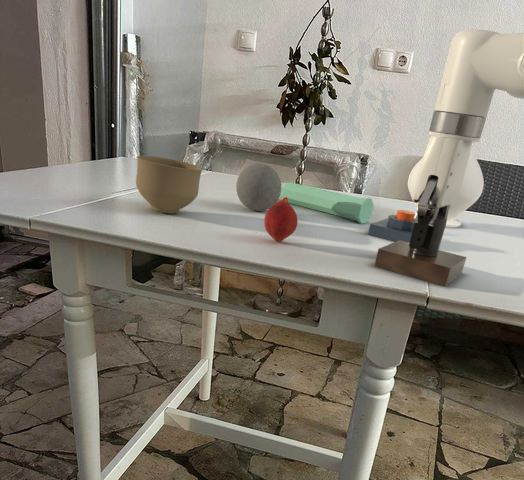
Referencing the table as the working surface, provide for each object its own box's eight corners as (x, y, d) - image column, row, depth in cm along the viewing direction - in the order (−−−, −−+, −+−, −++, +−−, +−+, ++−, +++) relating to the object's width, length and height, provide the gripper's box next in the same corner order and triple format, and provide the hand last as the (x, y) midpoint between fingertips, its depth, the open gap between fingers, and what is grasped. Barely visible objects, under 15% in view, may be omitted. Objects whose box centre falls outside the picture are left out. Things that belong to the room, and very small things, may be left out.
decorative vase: (393, 219, 124) (419, 107, 113) (406, 209, 139) (430, 109, 128) (468, 234, 118) (503, 117, 107) (473, 222, 133) (505, 119, 122)
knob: (414, 247, 87) (423, 210, 84) (440, 253, 85) (451, 216, 82) (405, 251, 83) (415, 213, 81) (432, 258, 81) (443, 219, 79)
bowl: (208, 219, 100) (212, 167, 96) (144, 218, 95) (145, 162, 90) (188, 205, 110) (191, 157, 106) (129, 203, 105) (129, 152, 100)
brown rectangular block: (461, 274, 87) (466, 257, 85) (445, 286, 79) (450, 268, 78) (395, 256, 92) (399, 240, 91) (374, 266, 84) (378, 248, 83)
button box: (432, 240, 108) (437, 221, 106) (418, 247, 101) (423, 227, 99) (383, 228, 113) (388, 210, 111) (367, 234, 106) (371, 215, 104)
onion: (280, 248, 88) (286, 201, 84) (255, 239, 91) (260, 194, 87) (300, 244, 92) (307, 199, 88) (275, 236, 95) (281, 192, 91)
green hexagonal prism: (280, 175, 126) (366, 193, 112) (292, 183, 131) (376, 202, 116) (271, 198, 127) (356, 219, 112) (284, 205, 131) (366, 227, 117)
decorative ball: (244, 203, 120) (248, 158, 115) (284, 211, 117) (290, 165, 113) (227, 209, 111) (231, 161, 107) (269, 218, 108) (275, 169, 104)
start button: (415, 221, 106) (417, 212, 105) (409, 223, 103) (411, 214, 102) (399, 217, 107) (401, 209, 107) (393, 219, 105) (395, 210, 104)
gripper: (447, 126, 84) (418, 234, 92) (413, 122, 71) (383, 249, 79) (493, 132, 81) (459, 244, 89) (467, 130, 67) (430, 261, 76)
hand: (424, 245), depth 84 cm, fingers open, 5 cm apart
